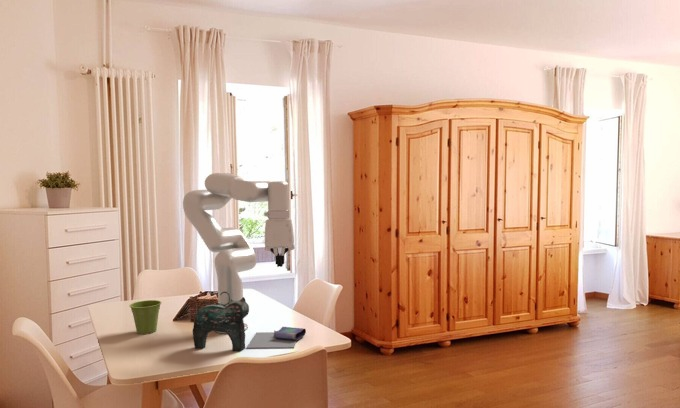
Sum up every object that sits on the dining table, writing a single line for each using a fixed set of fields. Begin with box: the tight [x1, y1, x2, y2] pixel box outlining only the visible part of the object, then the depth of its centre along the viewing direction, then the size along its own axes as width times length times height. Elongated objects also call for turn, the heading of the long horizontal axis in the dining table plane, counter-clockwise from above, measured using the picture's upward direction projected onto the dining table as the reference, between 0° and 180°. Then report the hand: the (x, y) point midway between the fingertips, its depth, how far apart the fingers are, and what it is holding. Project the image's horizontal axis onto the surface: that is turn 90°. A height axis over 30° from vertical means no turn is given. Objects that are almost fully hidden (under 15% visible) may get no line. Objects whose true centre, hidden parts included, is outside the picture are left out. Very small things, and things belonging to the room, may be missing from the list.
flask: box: [273, 326, 307, 341], centre depth 184 cm, size 9×3×11 cm
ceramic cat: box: [192, 292, 250, 352], centre depth 173 cm, size 20×6×20 cm, turn 77°
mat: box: [245, 331, 298, 350], centre depth 182 cm, size 16×18×1 cm
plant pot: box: [129, 299, 162, 335], centre depth 196 cm, size 12×12×11 cm
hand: (280, 266), depth 181 cm, fingers closed
